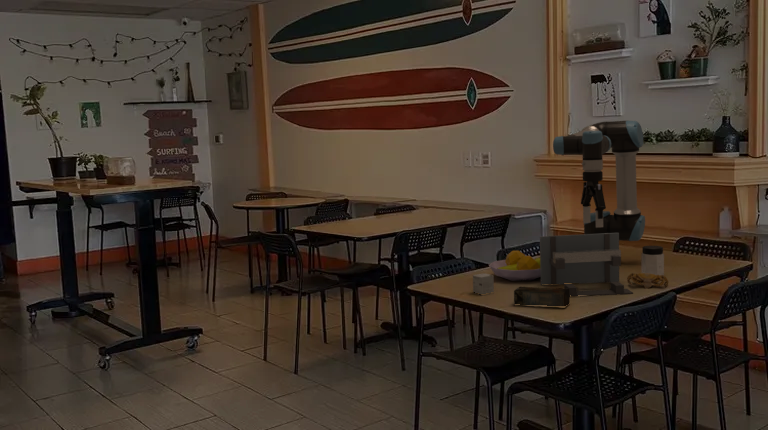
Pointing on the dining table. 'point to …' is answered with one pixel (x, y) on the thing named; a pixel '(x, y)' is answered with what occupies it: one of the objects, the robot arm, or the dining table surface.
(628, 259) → the dining table surface
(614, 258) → the panel
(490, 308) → the dining table surface
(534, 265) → the fruit bowl
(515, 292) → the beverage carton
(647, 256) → the jar
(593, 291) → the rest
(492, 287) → the skincare box
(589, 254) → the rail
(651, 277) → the crab model
